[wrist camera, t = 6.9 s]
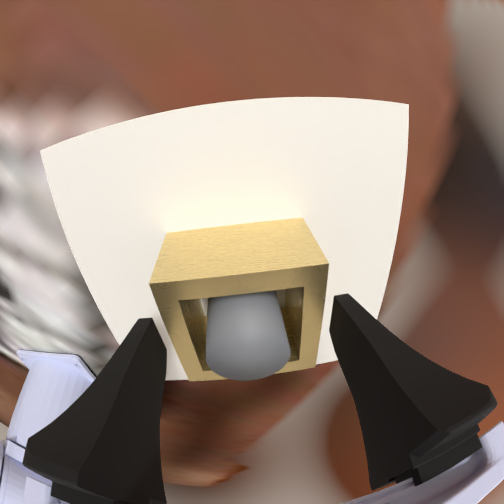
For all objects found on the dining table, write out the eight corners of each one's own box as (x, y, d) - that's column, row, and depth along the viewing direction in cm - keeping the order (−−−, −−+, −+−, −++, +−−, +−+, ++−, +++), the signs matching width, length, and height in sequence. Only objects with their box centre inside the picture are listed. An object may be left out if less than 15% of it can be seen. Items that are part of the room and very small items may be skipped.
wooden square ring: (299, 315, 15) (315, 367, 12) (193, 327, 14) (189, 381, 11) (302, 217, 12) (329, 263, 9) (166, 232, 11) (149, 283, 8)
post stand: (361, 343, 18) (387, 404, 14) (144, 369, 18) (134, 435, 13) (396, 102, 10) (484, 122, 5) (51, 145, 9) (-29, 186, 5)
